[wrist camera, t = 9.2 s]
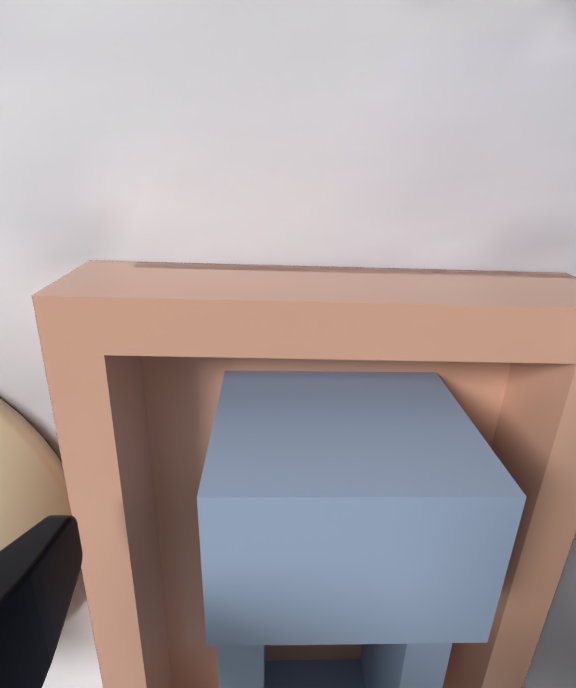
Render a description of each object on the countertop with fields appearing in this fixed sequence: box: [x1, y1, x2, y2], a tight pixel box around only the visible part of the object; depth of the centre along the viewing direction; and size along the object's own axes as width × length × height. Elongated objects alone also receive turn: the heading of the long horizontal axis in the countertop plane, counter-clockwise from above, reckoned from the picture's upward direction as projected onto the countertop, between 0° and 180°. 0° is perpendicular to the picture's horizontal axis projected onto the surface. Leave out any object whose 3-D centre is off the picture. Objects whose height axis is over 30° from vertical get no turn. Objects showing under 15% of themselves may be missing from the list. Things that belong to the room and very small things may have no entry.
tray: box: [32, 261, 576, 688], centre depth 12 cm, size 10×15×2 cm, turn 178°
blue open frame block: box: [197, 371, 526, 688], centre depth 10 cm, size 10×5×4 cm, turn 179°
